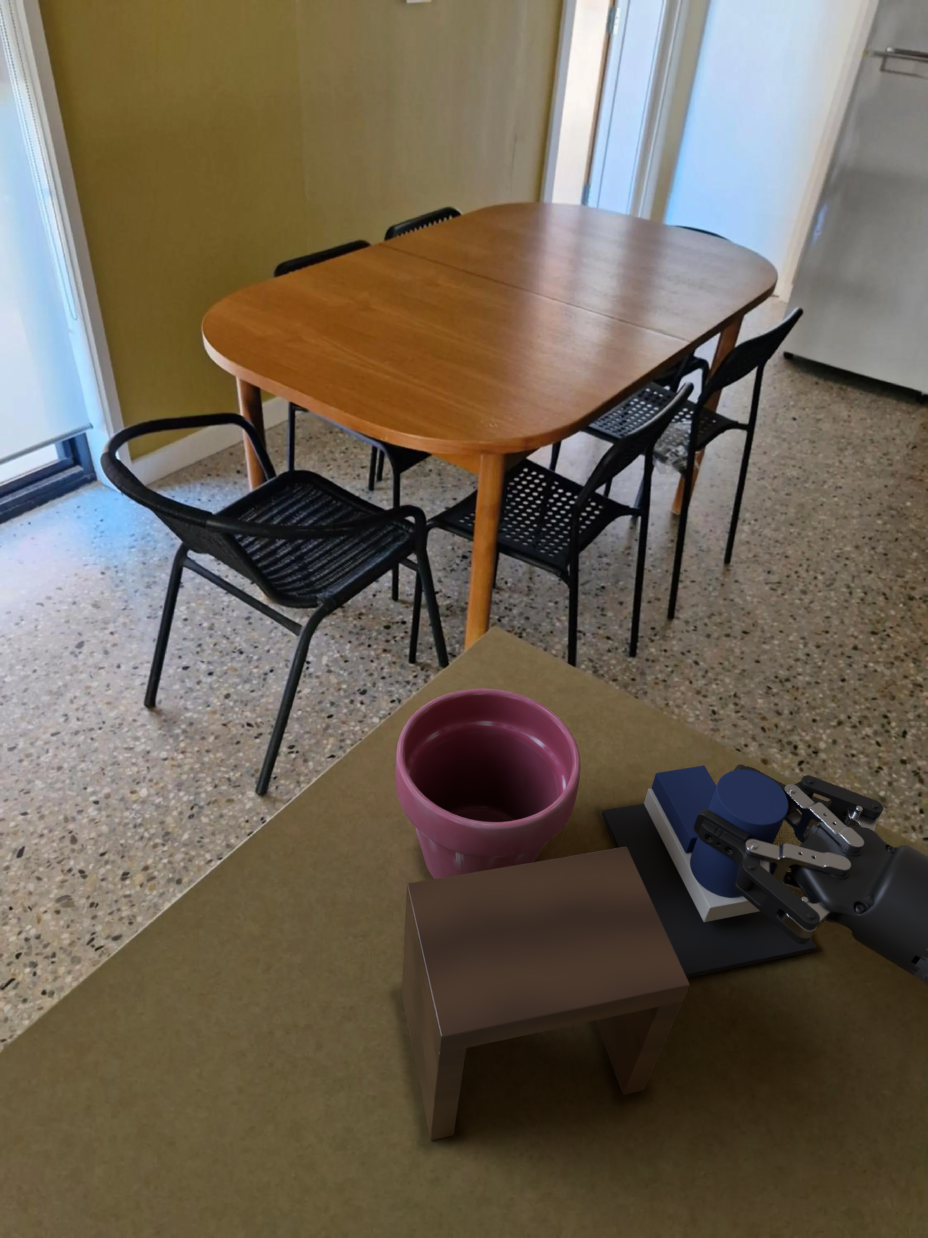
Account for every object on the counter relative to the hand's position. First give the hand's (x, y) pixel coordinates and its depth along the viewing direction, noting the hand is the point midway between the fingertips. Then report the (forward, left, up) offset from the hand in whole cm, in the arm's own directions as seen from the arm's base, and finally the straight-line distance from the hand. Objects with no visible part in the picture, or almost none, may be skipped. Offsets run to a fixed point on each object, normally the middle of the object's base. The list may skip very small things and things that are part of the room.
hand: (716, 796), depth 67 cm
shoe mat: (0, -2, -11) cm, 11 cm away
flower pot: (+6, +16, -11) cm, 21 cm away
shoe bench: (-10, +17, -11) cm, 23 cm away
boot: (+1, -1, -9) cm, 9 cm away
